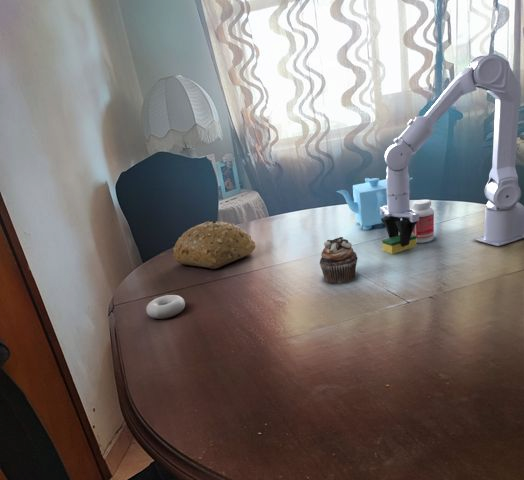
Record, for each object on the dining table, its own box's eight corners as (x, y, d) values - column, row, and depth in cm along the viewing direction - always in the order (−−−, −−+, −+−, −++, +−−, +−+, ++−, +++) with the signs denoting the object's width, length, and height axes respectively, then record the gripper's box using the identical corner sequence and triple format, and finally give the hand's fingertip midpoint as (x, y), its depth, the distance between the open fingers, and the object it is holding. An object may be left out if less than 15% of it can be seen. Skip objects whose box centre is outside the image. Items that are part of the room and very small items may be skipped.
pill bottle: (438, 238, 133) (438, 199, 128) (423, 244, 131) (423, 205, 126) (420, 235, 138) (420, 197, 133) (406, 241, 136) (405, 203, 130)
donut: (187, 302, 124) (150, 308, 124) (184, 290, 122) (147, 296, 122) (185, 317, 115) (145, 324, 115) (182, 304, 113) (141, 311, 113)
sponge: (406, 243, 132) (406, 232, 131) (416, 246, 128) (416, 235, 127) (382, 250, 130) (382, 240, 129) (392, 253, 126) (391, 243, 125)
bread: (168, 266, 154) (158, 231, 149) (215, 246, 167) (207, 212, 161) (216, 275, 139) (207, 236, 133) (264, 251, 151) (257, 214, 145)
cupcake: (314, 278, 123) (310, 241, 118) (345, 268, 125) (342, 231, 120) (333, 288, 115) (329, 249, 110) (366, 276, 117) (363, 238, 112)
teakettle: (384, 234, 146) (382, 185, 139) (336, 230, 158) (332, 185, 151) (415, 216, 156) (415, 171, 149) (368, 214, 169) (366, 172, 162)
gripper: (369, 193, 127) (372, 241, 134) (402, 200, 115) (403, 252, 121) (391, 188, 129) (393, 235, 135) (425, 193, 117) (425, 245, 123)
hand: (399, 243), depth 128 cm, fingers closed on sponge, 4 cm apart
